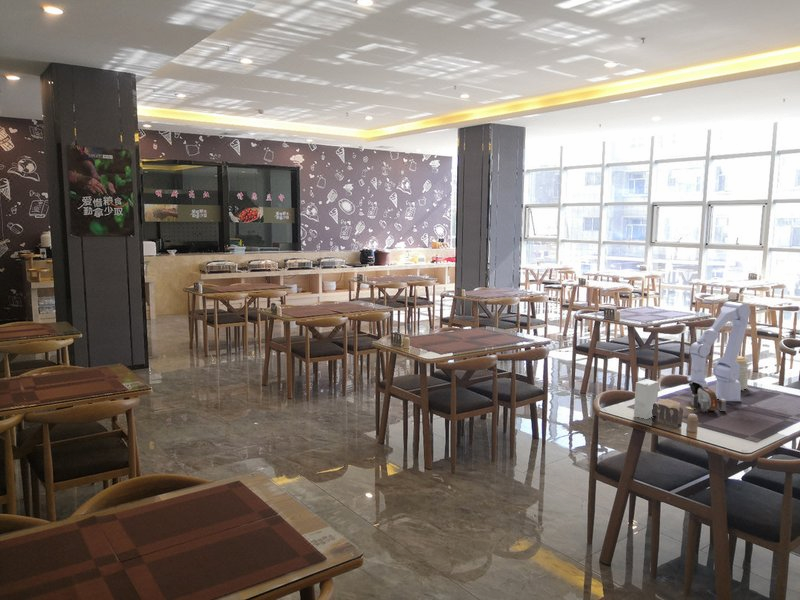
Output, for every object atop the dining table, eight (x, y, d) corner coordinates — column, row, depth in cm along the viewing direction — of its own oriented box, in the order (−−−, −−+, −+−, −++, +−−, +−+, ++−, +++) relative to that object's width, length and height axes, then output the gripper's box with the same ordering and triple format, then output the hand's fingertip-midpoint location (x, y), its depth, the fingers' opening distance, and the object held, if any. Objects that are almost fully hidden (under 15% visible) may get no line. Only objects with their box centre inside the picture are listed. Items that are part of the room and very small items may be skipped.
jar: (724, 382, 311) (727, 348, 308) (752, 388, 301) (754, 352, 298) (712, 387, 303) (714, 351, 300) (740, 392, 293) (742, 355, 290)
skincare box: (643, 413, 260) (645, 378, 258) (657, 416, 255) (659, 381, 254) (632, 417, 255) (634, 381, 253) (646, 420, 250) (648, 384, 248)
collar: (712, 405, 272) (713, 393, 271) (715, 406, 270) (715, 394, 269) (691, 405, 272) (691, 393, 271) (693, 406, 270) (694, 395, 269)
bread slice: (717, 413, 260) (719, 393, 259) (709, 413, 260) (711, 393, 259) (702, 403, 275) (703, 384, 274) (695, 402, 275) (696, 384, 274)
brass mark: (693, 407, 269) (693, 406, 269) (697, 409, 265) (697, 408, 265) (683, 407, 269) (683, 406, 269) (688, 409, 265) (688, 408, 265)
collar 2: (722, 410, 264) (723, 398, 263) (725, 411, 262) (726, 400, 261) (700, 410, 264) (701, 398, 263) (702, 411, 262) (703, 400, 261)
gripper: (681, 366, 282) (679, 395, 284) (697, 373, 268) (695, 404, 269) (696, 366, 282) (694, 395, 284) (713, 373, 268) (711, 404, 270)
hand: (696, 399), depth 277 cm, fingers closed
